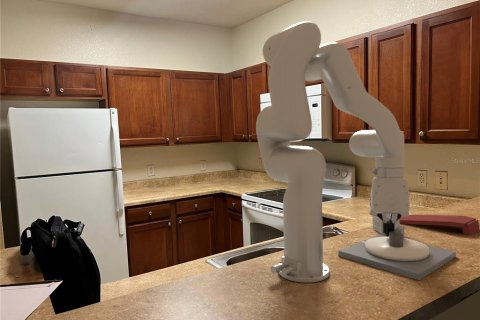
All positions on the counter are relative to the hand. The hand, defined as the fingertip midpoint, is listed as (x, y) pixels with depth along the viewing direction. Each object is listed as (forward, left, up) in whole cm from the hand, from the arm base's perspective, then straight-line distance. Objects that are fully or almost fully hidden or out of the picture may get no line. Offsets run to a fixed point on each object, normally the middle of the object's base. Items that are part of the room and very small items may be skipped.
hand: (388, 235), depth 100 cm
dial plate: (-4, -4, -4) cm, 7 cm away
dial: (-4, -4, -2) cm, 6 cm away
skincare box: (+16, +10, -4) cm, 19 cm away
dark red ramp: (+35, +1, -5) cm, 35 cm away
